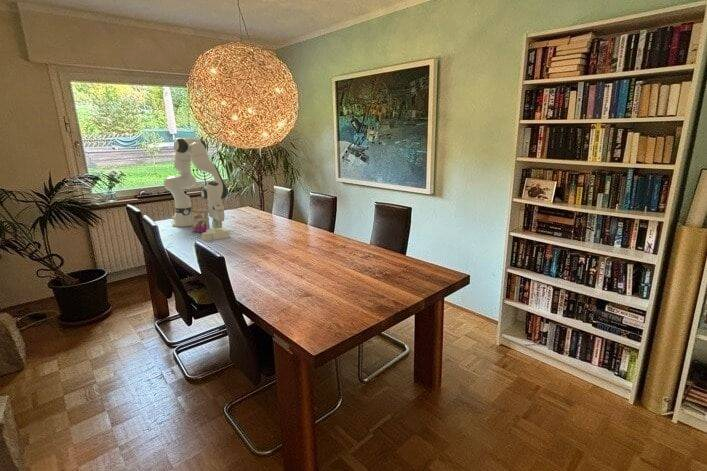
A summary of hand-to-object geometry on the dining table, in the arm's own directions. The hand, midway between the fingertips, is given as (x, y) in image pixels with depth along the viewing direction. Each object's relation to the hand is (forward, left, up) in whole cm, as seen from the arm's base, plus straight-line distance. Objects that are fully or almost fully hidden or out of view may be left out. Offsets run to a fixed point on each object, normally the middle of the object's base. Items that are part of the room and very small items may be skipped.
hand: (217, 225), depth 252 cm
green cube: (0, 0, -2) cm, 2 cm away
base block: (0, 0, -8) cm, 9 cm away
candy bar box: (-20, -5, -8) cm, 22 cm away
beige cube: (+4, -9, -8) cm, 13 cm away
